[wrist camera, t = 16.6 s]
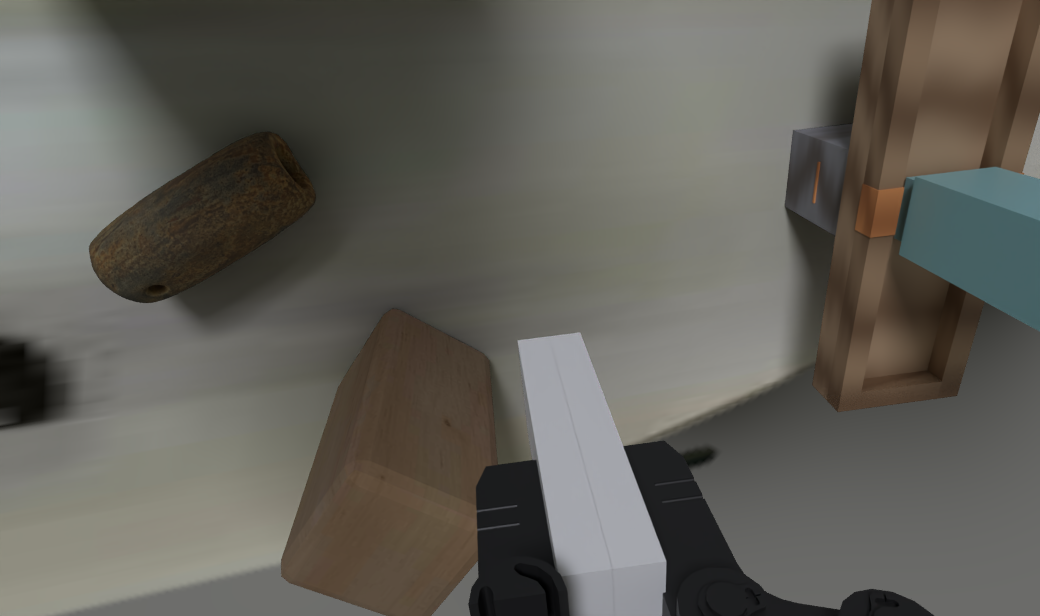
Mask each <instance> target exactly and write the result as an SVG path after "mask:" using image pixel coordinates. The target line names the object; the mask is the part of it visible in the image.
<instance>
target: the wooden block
mask: <svg viewBox="0 0 1040 616" xmlns="http://www.w3.org/2000/svg"><path fill="white" fill-rule="evenodd" d="M493 465H498V462H497V449H496V437H495V425H494V413H493V400H492V388H491V376H490V364H489V360H488V358H487V357H486V356H485V355H484V354H483V353H481V352H479V351H478V350H476V349H474V348H472V347H470V346H468V345H466V344H464V343H462V342H460V341H458V340H456V339H454V338H453V337H451V336H449V335H447V334H445V333H443V332H441V331H439V330H437V329H435V328H433V327H431V326H430V325H428V324H426V323H424V322H422V321H420V320H418V319H416V318H414V317H412V316H410V315H408V314H407V313H405V312H403V311H401V310H398V309H391V310H390V311H388V312H387V313H385V314H384V315H383V316H382V318H381V320H380V321H379V323H378V324H377V326H376V327H375V329H374V331H373V332H372V334H371V335H370V337H369V339H368V340H367V342H366V343H365V345H364V347H363V348H362V350H361V351H360V353H359V354H358V356H357V358H356V359H355V361H354V362H353V364H352V366H351V367H350V369H349V370H348V372H347V374H346V375H345V377H344V378H343V380H342V382H341V383H340V385H339V386H338V390H337V393H336V396H335V399H334V402H333V405H332V408H331V411H330V414H329V417H328V420H327V423H326V426H325V429H324V432H323V435H322V438H321V441H320V444H319V447H318V450H317V453H316V456H315V459H314V462H313V465H312V468H311V471H310V474H309V477H308V481H307V484H306V487H305V490H304V493H303V496H302V499H301V502H300V505H299V508H298V511H297V514H296V517H295V520H294V523H293V526H292V529H291V532H290V535H289V538H288V541H287V544H286V547H285V550H284V553H283V556H282V559H281V574H282V575H281V577H283V578H284V579H285V580H286V581H288V582H289V583H291V584H294V585H297V586H300V587H303V588H306V589H309V590H312V591H315V592H318V593H321V594H324V595H327V596H330V597H333V598H336V599H339V600H342V601H345V602H348V603H351V604H353V605H357V606H360V607H362V608H365V609H368V610H371V611H374V612H378V613H380V614H383V615H386V616H431V615H432V614H433V613H434V612H435V611H436V609H437V608H438V607H439V606H440V605H441V603H442V602H443V601H444V600H445V599H446V598H447V596H448V595H449V594H450V593H451V592H452V590H453V589H454V588H455V587H456V586H457V585H458V583H459V582H460V581H461V580H462V579H463V578H464V576H465V575H466V574H467V573H468V572H469V570H470V569H471V568H472V567H473V566H474V565H475V563H476V562H477V561H478V543H477V510H476V485H477V483H478V481H479V479H480V477H481V475H482V473H483V471H484V469H485V467H486V466H493Z"/></svg>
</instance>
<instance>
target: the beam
mask: <svg viewBox="0 0 1040 616" xmlns="http://www.w3.org/2000/svg"><path fill="white" fill-rule="evenodd" d="M1039 113H1040V0H872V4H871V10H870V17H869V23H868V30H867V36H866V42H865V49H864V55H863V62H862V68H861V75H860V81H859V87H858V94H857V100H856V107H855V113H854V120H853V124H845V125H836V126H827V127H819V128H810V129H802V130H793V137H792V146H791V155H790V164H789V173H788V182H787V191H786V200H785V207H787V208H789V209H790V210H792V211H794V212H795V213H797V214H799V215H801V216H802V217H804V218H806V219H807V220H809V221H811V222H812V223H814V224H816V225H817V226H819V227H821V228H823V229H824V230H826V231H828V232H829V233H831V234H833V235H834V236H835V242H834V248H833V255H832V261H831V268H830V274H829V280H828V287H827V293H826V300H825V306H824V313H823V319H822V325H821V332H820V338H819V345H818V351H817V358H816V364H815V370H814V377H813V383H812V385H813V386H814V387H815V388H816V390H817V391H819V393H820V394H821V395H822V396H823V397H824V398H825V399H826V400H827V401H828V402H829V403H830V404H831V405H832V406H833V407H834V408H835V410H836V411H837V412H841V411H849V410H856V409H863V408H871V407H878V406H885V405H893V404H900V403H908V402H915V401H923V400H930V399H937V398H945V397H952V396H957V394H958V390H959V387H960V384H961V380H962V377H963V373H964V370H965V367H966V363H967V360H968V356H969V352H970V349H971V346H972V343H973V339H974V336H975V332H976V329H977V326H978V322H979V319H980V315H981V312H982V308H983V305H984V302H985V301H983V300H981V299H979V298H978V297H976V296H974V295H972V294H970V293H968V292H967V291H965V290H963V289H961V288H959V287H957V286H956V285H954V284H952V283H950V282H948V281H946V280H945V279H943V278H941V277H939V276H937V275H935V274H934V273H932V272H930V271H928V270H926V269H924V268H923V267H921V266H919V265H917V264H915V263H913V262H912V261H910V260H908V259H906V258H904V257H902V256H901V255H899V251H900V246H901V241H899V240H897V239H895V238H894V235H895V232H896V227H897V222H898V217H899V212H900V208H901V203H902V198H903V193H904V186H905V181H906V177H914V176H922V175H930V174H939V173H947V172H955V171H964V170H973V169H981V168H990V167H999V168H1002V169H1006V170H1009V171H1013V172H1016V173H1020V174H1023V175H1024V173H1022V171H1023V168H1024V164H1025V161H1026V158H1027V154H1028V151H1029V147H1030V144H1031V140H1032V137H1033V134H1034V130H1035V127H1036V123H1037V120H1038V116H1039Z"/></svg>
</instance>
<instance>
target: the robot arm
mask: <svg viewBox="0 0 1040 616" xmlns="http://www.w3.org/2000/svg"><path fill="white" fill-rule="evenodd" d="M518 349H519V358H520V367H521V376H522V385H523V394H524V403H525V412H526V421H527V430H528V437H529V443H530V449H531V455H532V460H530V461H523V462H515V463H508V464H501V465H493V466H486V467H485V469H484V471H483V473H482V475H481V477H480V479H479V481H478V483H477V485H476V510H477V543H478V571H479V573H478V574H479V578H478V579H477V580H476V582H475V584H474V585H473V586H472V589H471V594H470V599H469V610H470V615H471V616H934V615H933V614H931V613H930V612H929V611H927V610H926V609H924V608H923V607H922V606H920V605H919V604H917V603H916V602H915V601H913V600H910V599H908V598H906V597H903V596H901V595H898V594H896V593H894V592H889V591H882V590H876V589H869V590H864V591H858V592H854V593H853V594H852V595H850V596H849V597H848V598H847V599H845V600H844V601H843V602H842V606H841V609H840V610H837V609H831V608H825V607H818V606H812V605H805V604H799V603H794V602H791V601H787V600H783V599H780V598H778V597H776V596H773V595H771V594H769V593H767V592H766V591H764V590H763V588H762V587H761V586H760V585H759V584H758V583H756V582H754V581H753V580H752V579H750V578H749V577H747V576H746V575H745V574H744V573H743V571H742V570H741V569H740V567H739V565H738V564H737V562H736V560H735V558H734V556H733V554H732V552H731V550H730V549H729V547H728V544H727V542H726V541H725V539H724V537H723V535H722V533H721V531H720V529H719V527H718V525H717V523H716V521H715V519H714V517H713V515H712V513H711V511H710V509H709V507H708V505H707V503H706V501H705V499H703V497H702V493H701V491H700V489H699V487H698V485H697V483H696V482H695V481H694V477H693V475H692V473H691V471H690V469H689V467H688V465H687V463H686V461H685V459H684V457H683V456H682V455H680V454H679V453H678V452H677V451H676V450H674V449H673V448H672V447H671V446H670V445H669V444H667V443H666V442H665V441H658V442H651V443H643V444H636V445H628V446H623V445H622V442H621V439H620V437H619V434H618V431H617V429H616V426H615V424H614V421H613V418H612V416H611V413H610V410H609V408H608V405H607V402H606V400H605V397H604V394H603V392H602V389H601V386H600V384H599V381H598V378H597V376H596V373H595V370H594V368H593V365H592V362H591V360H590V357H589V354H588V352H587V349H586V347H585V344H584V341H583V339H582V336H581V333H580V332H579V333H572V334H564V335H556V336H548V337H540V338H532V339H525V340H518Z"/></svg>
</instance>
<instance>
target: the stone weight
mask: <svg viewBox="0 0 1040 616" xmlns="http://www.w3.org/2000/svg"><path fill="white" fill-rule="evenodd" d="M315 199H316V194H315V191H314V189H313V185H312V183H311V182H310V180H309V178H308V177H307V176H306V174H305V172H304V171H303V170H302V168H301V167H300V165H299V164H298V162H297V161H296V159H295V158H294V157H293V155H292V152H291V150H290V149H289V147H288V146H287V144H286V142H285V141H284V140H283V139H282V138H281V137H280V136H279V135H277V134H275V133H271V132H260V133H255V134H253V135H250V136H248V137H245V138H242V139H240V140H238V141H236V142H234V143H232V144H230V145H229V146H227V147H225V148H224V149H222V150H220V151H218V152H217V153H215V154H213V155H212V156H210V157H209V158H207V159H205V160H204V161H202V162H200V163H199V164H197V165H195V166H194V167H192V168H191V169H189V170H187V171H186V172H184V173H183V174H181V175H179V176H178V177H176V178H174V179H173V180H171V181H169V182H168V183H166V184H165V185H163V186H161V187H160V188H158V189H157V190H155V191H154V192H152V193H151V194H149V195H148V196H146V197H145V198H143V199H142V200H140V201H139V202H138V203H136V204H135V205H134V206H133V207H131V208H129V209H128V210H127V211H125V212H124V213H123V214H121V215H120V216H119V217H117V218H116V219H115V220H114V221H113V222H111V223H110V224H109V225H108V226H107V227H105V228H104V229H103V230H102V231H101V232H100V233H99V234H98V235H97V237H96V238H95V239H94V240H93V241H92V242H91V244H90V246H89V253H90V259H91V263H92V267H93V270H94V271H95V273H96V275H97V276H98V278H99V279H100V281H101V282H102V283H103V284H104V285H105V286H106V287H107V288H109V289H110V290H111V291H113V292H114V293H116V294H117V295H119V296H121V297H123V298H126V299H128V300H132V301H135V302H140V303H153V302H157V301H161V300H164V299H166V298H169V297H172V296H174V295H176V294H178V293H180V292H182V291H184V290H186V289H188V288H190V287H192V286H194V285H196V284H198V283H200V282H202V281H203V280H205V279H207V278H208V277H210V276H212V275H214V274H215V273H217V272H219V271H221V270H222V269H224V268H225V267H227V266H229V265H230V264H232V263H233V262H235V261H237V260H238V259H240V258H242V257H243V256H245V255H247V254H248V253H250V252H251V251H253V250H255V249H256V248H258V247H259V246H261V245H262V244H264V243H266V242H267V241H269V240H270V239H272V238H273V237H275V236H276V235H277V234H279V233H280V232H281V231H283V230H284V229H285V228H287V227H288V226H290V225H291V224H292V223H294V222H295V221H297V220H298V219H299V218H301V217H302V216H303V215H304V214H305V213H306V212H307V211H308V210H309V209H310V208H311V207H312V206H313V204H314V203H315Z"/></svg>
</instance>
